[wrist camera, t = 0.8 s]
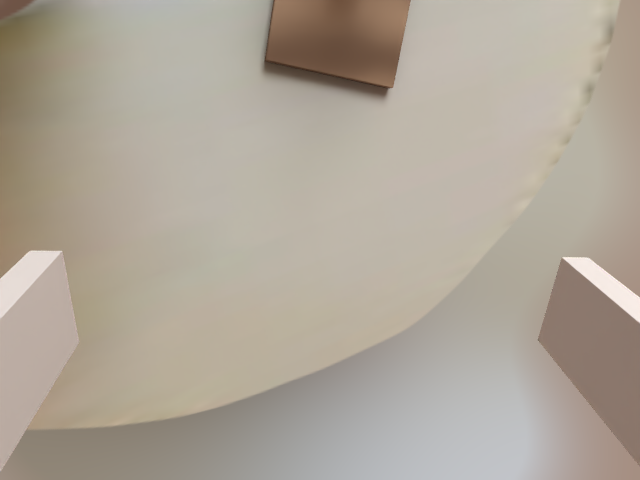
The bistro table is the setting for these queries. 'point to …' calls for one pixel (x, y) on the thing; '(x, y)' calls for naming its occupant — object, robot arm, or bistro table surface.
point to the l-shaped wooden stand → (339, 37)
